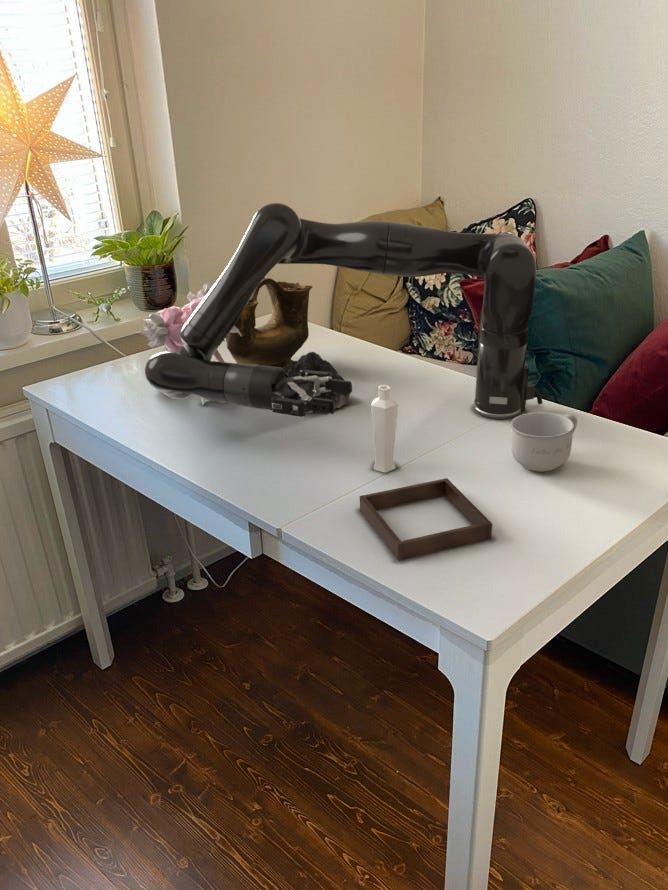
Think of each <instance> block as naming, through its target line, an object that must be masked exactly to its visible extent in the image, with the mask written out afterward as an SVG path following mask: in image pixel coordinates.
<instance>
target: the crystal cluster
mask: <svg viewBox="0 0 668 890" xmlns="http://www.w3.org/2000/svg"><path fill="white" fill-rule="evenodd" d="M293 361H294V362H293V363H291V364H290V365H289V369H288V371H287V375H288V376H289V377H296V376H300V370H311V371H322V372H331V373H332V379H337V380H345V379H344V378H343V377H342V375H341V374H340V373H339V371H338V370H337V369H336V368H335V367H334V366H333V364H332V363H330V361H327V359H323V358H322V357H321V356H320V354H319V353H316V352H315V351H308V352H307V353H306V354H303V355H301V357H299V358H298V360H293ZM320 377H321V376H320ZM320 388H322V387H320ZM313 390H314V386H313ZM350 395H351V393H350V394H342V393H334V392H331V391H330V392H324V393H320V395H319V396H314V397H312V400H313V398H321V399H329V400H334V401H335V409H340V408H341V407H342V406H344V405H346V404H347V403H348V401H349V398H350ZM293 410H297V411H298V409H296V408H295V407H293Z"/></svg>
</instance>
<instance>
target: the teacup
mask: <svg viewBox="0 0 668 890" xmlns="http://www.w3.org/2000/svg"><path fill="white" fill-rule="evenodd" d="M577 426H578V418H577V416H576V415H575V414H573V413H570V412H569V413H565V414H564V415H562V414H558V413H555V412H547V411H545V412H544V411H542V412H541V411H538V412H537V411H536V412H528V413H527V412H526V413H524V414H519V415H517V416H515V417H513V419H512V420H511V422H510V427H511V431H510V435H511V436H510V444H511V445H510V447H511V455H512V457H513V458H514V460H515V461H516V462H517V463H518V464H520V465H521V466H522V467H523V468H524V469H526V470H529V471H533V472H540V473H541V472H543V473H544V472H550V471H553V470H556V469H558V468H559V467H561V466H562V465H563V464H565V463H566V462H567V461H568V460H569V458H570V456H571V452H572V446H573V434H574V433H575V431H576V429H577Z"/></svg>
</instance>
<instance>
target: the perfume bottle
mask: <svg viewBox="0 0 668 890" xmlns="http://www.w3.org/2000/svg"><path fill="white" fill-rule="evenodd" d="M377 390H378V397H375V398H373V400H372V402H371V404H370V410H371V421H372V422H371V424H372V435H373V446H374V447H373V448H374V459H375V461H374V465H373V470H374V471H378V472H381V473H384V474H385V473H388V472H391V471H393V470H395V469H396V465H395V464H396V463H395V461H394V458H395V447H396V445H395V444H396V433H397V424H398V423H397V422H398V421H397V420H398V412H399V411H398V409H399V403H398V401H396V400H395V399H393V398H392V397H391V386H389V385H388V384H380V385H379V386H378V387H377Z"/></svg>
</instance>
